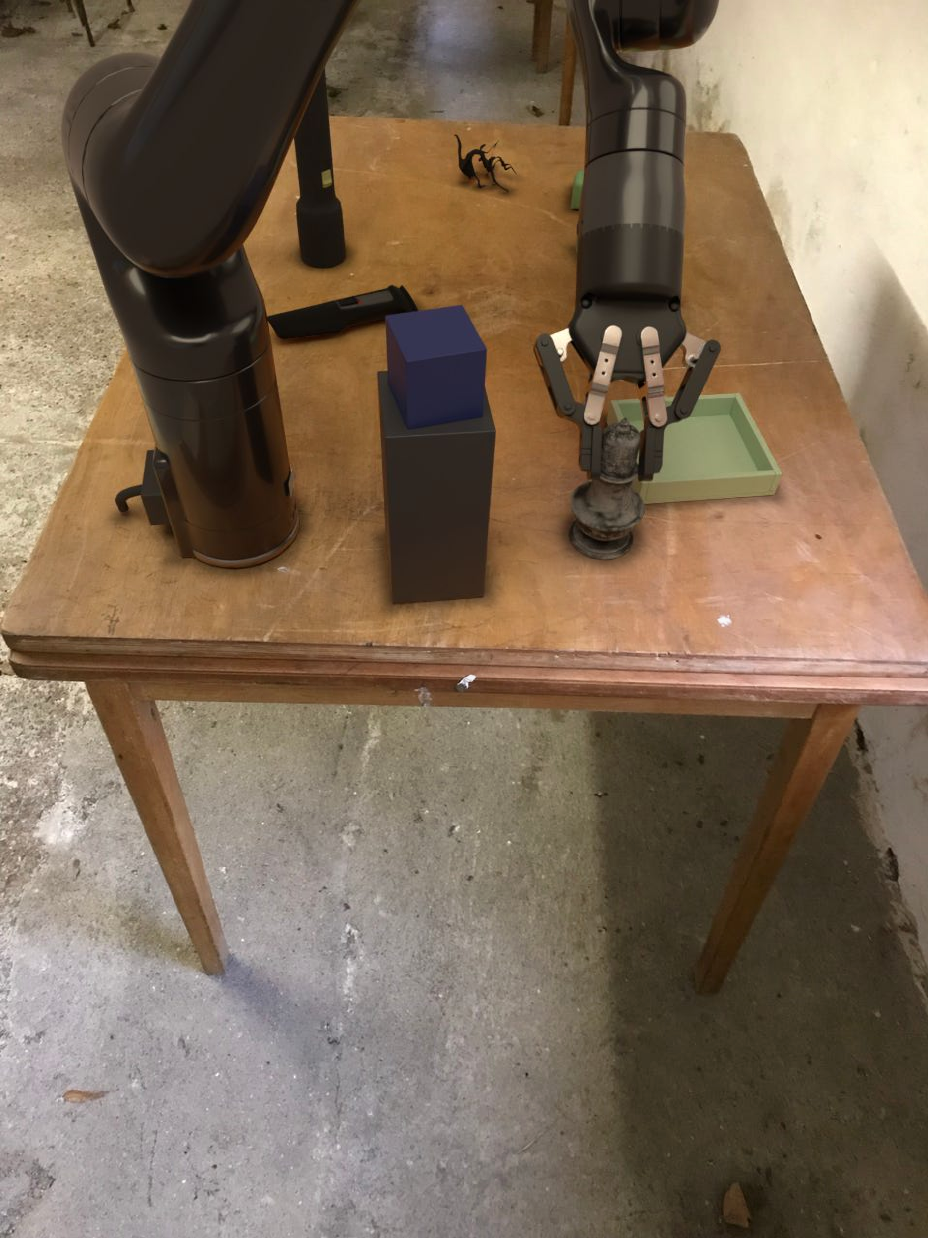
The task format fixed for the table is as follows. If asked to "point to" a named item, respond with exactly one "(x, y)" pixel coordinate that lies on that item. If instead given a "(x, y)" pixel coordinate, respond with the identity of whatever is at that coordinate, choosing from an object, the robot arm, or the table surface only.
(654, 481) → the pale tray
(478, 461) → the dark stand
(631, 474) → the dark grey chess piece
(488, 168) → the creature
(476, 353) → the navy block
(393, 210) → the table surface
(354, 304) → the electric trimmer
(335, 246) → the flashlight
